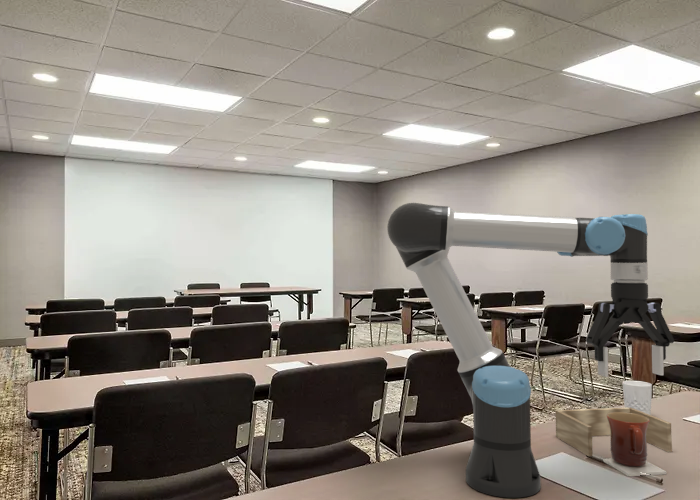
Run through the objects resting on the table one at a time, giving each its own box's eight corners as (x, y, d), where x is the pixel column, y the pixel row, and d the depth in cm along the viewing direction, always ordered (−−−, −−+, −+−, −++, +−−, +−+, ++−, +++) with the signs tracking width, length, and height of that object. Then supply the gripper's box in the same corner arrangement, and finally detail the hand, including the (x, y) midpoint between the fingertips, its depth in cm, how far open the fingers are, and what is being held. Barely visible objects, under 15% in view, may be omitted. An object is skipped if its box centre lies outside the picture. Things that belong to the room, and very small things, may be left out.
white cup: (629, 411, 165) (628, 379, 165) (656, 416, 159) (655, 383, 159) (619, 415, 160) (618, 383, 160) (646, 421, 154) (645, 387, 154)
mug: (602, 454, 124) (601, 411, 125) (642, 457, 123) (641, 413, 123) (618, 473, 113) (617, 425, 113) (662, 476, 111) (661, 428, 111)
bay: (588, 456, 125) (587, 427, 125) (556, 436, 140) (555, 410, 140) (671, 451, 128) (671, 423, 128) (631, 433, 143) (630, 407, 143)
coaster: (628, 476, 113) (628, 473, 113) (603, 461, 122) (603, 458, 122) (666, 474, 114) (666, 471, 114) (638, 459, 123) (638, 456, 123)
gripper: (588, 282, 114) (589, 379, 113) (690, 282, 117) (693, 377, 116) (569, 281, 122) (570, 372, 121) (666, 281, 125) (668, 370, 124)
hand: (630, 375), depth 119 cm, fingers open, 13 cm apart
